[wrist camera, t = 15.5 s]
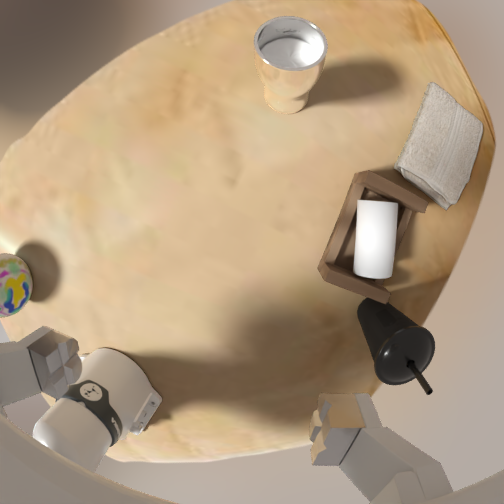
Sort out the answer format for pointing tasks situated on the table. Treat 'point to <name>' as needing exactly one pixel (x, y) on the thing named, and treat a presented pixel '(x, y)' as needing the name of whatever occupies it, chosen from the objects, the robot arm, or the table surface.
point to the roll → (375, 238)
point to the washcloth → (440, 147)
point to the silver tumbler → (289, 61)
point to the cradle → (344, 234)
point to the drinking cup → (396, 344)
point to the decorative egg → (14, 284)
